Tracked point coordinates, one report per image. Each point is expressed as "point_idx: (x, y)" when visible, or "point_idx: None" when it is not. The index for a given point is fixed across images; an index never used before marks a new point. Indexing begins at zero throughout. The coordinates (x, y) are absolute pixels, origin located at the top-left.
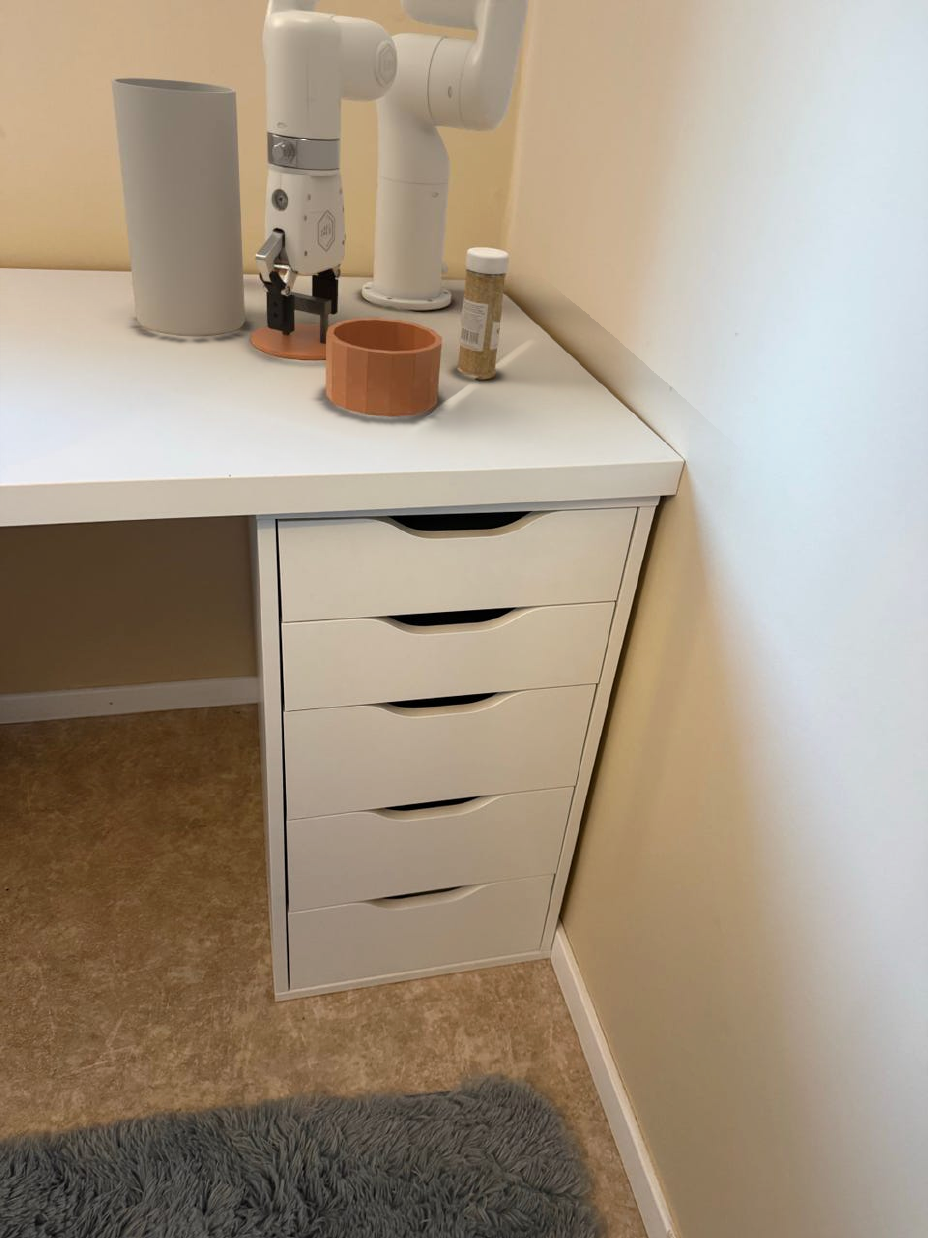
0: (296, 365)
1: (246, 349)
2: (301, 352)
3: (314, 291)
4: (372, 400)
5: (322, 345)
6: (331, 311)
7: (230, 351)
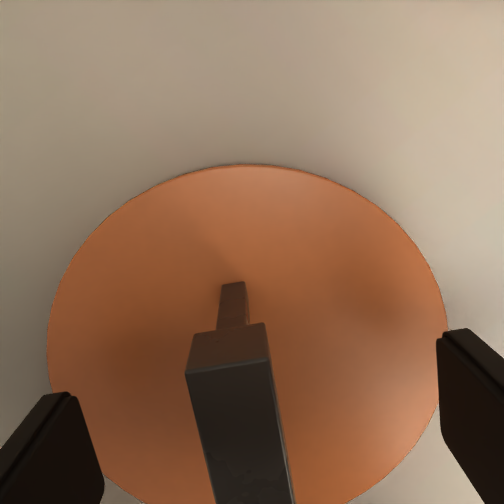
0: (423, 251)
1: None
2: (398, 271)
3: None
4: None
5: (268, 274)
6: (76, 407)
7: (449, 465)
